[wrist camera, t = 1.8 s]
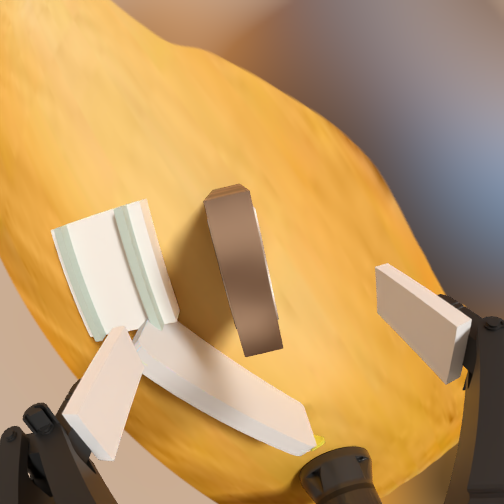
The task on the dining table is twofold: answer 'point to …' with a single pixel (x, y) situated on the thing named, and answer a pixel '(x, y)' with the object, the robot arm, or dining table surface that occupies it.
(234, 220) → the brown picture frame
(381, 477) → the dining table surface
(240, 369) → the decorative sign
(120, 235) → the panel
